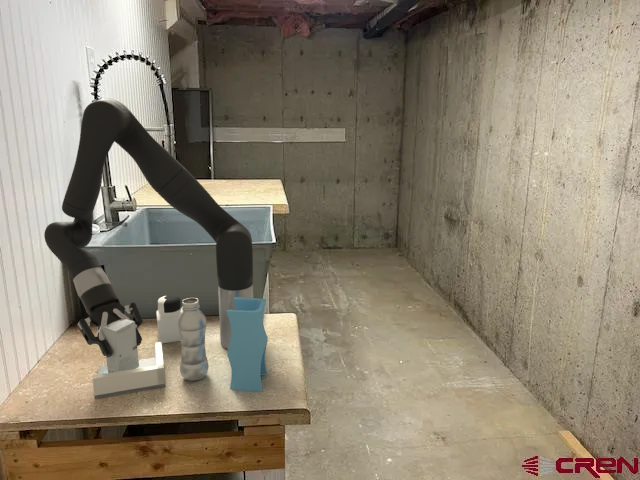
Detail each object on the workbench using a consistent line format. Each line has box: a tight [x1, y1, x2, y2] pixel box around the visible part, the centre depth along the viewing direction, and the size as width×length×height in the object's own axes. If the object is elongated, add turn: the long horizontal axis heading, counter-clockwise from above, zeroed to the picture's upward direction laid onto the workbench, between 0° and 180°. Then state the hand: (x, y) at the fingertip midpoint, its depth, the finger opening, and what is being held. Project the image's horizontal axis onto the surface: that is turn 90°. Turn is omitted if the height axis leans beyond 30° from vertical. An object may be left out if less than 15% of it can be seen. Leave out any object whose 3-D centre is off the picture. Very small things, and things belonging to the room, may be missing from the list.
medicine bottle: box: [155, 294, 184, 345], centre depth 133 cm, size 7×7×12 cm
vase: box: [226, 297, 269, 393], centre depth 111 cm, size 8×8×20 cm
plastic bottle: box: [178, 297, 210, 382], centre depth 113 cm, size 6×7×20 cm
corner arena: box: [92, 341, 166, 399], centre depth 114 cm, size 15×13×5 cm
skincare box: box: [103, 319, 140, 373], centre depth 113 cm, size 6×4×12 cm
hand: (124, 349), depth 112 cm, fingers closed on skincare box, 6 cm apart
